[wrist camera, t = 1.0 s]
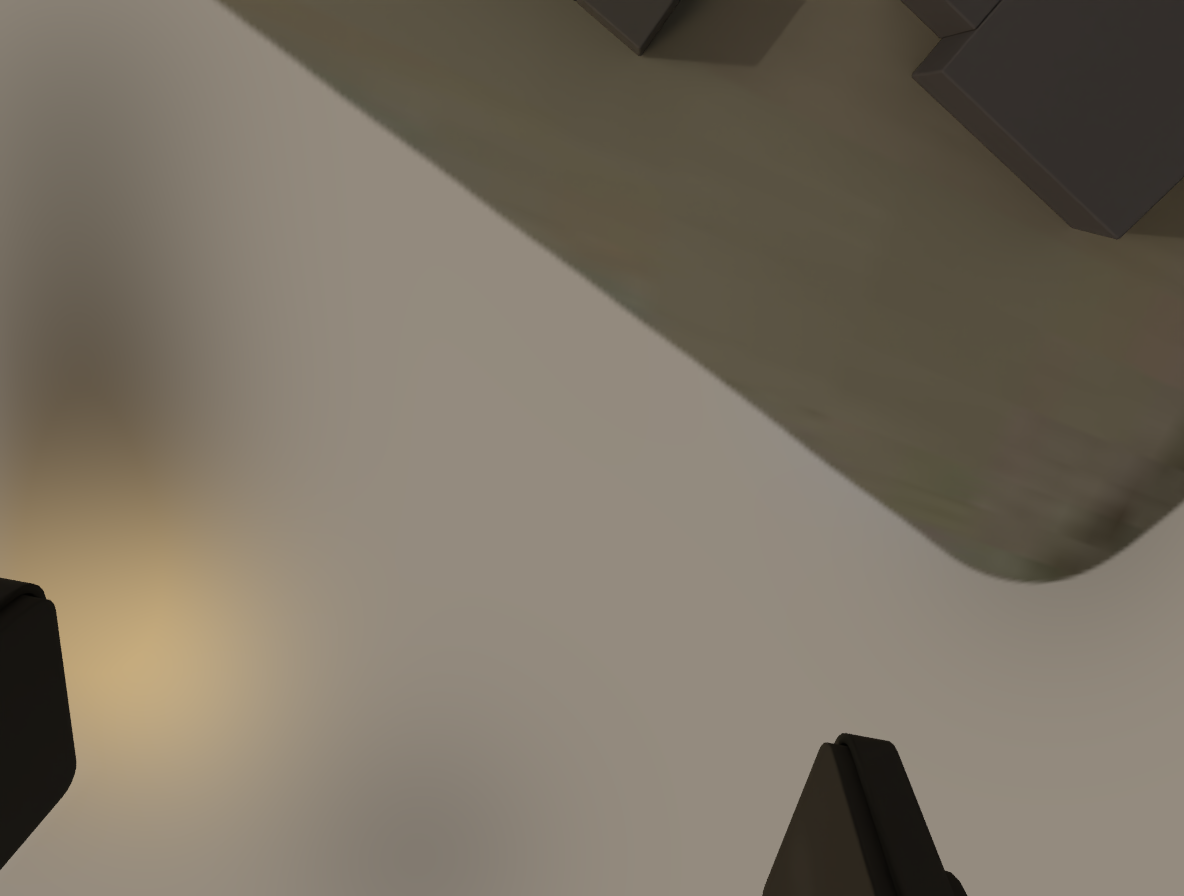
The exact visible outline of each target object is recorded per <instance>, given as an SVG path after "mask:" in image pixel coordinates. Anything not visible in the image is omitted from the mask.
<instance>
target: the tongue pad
mask: <svg viewBox="0 0 1184 896" xmlns="http://www.w3.org/2000/svg"><path fill="white" fill-rule="evenodd" d="M901 1H902V2H903V3H904V4H905V5H906V6H907V7H908V8H909V9H910V10H911V11H912V12H913V13H915V14H916V15H917V16H918V17H919V18H920V19H921V20H922V21H923V22H924V23H925V24H926V25H927V26H928V27H929V28H930V29H931V30H932V31H933V32H934V33H935V34H936V35H937V36H938V37H939V38H942V39H941V41H940V42H939V43H938V44H937V45H936V46H935V48H934V49H933V50H932V51H931V52H930V54H929V55H928V56H927V57H926V58H925V59H924V61H923V62H922V63H921V64H920V65H919V67H918V68H917V69H916V70H915V71H914V72H913V74H912V78H913V79H914V80H915V81H916V82H917V83H919V84H920V85H921V86H922V87H923V88H924V89H925V90H926V91H927V92H928V93H929V94H930V95H931V96H932V97H933V98H935V99H936V100H937V101H938V102H939V103H940V104H941V105H942V106H943V107H944V108H945V109H946V110H947V111H948V112H949V113H950V114H952V115H953V116H954V117H955V118H956V119H957V120H958V121H959V122H960V123H961V124H962V125H963V126H964V127H965V128H966V129H968V130H969V131H970V132H971V133H972V134H973V135H974V136H975V137H976V138H977V139H978V140H979V141H980V142H981V143H982V144H983V145H985V146H986V147H987V148H988V149H989V150H990V151H991V152H992V153H993V154H994V155H995V156H996V157H997V158H998V159H999V160H1001V161H1002V162H1003V163H1004V164H1005V165H1006V166H1007V167H1008V168H1009V169H1010V170H1011V171H1012V172H1013V173H1014V174H1015V175H1016V176H1018V177H1019V178H1020V179H1021V180H1022V181H1023V182H1024V183H1025V184H1026V185H1027V186H1028V187H1029V188H1030V189H1031V190H1032V191H1033V192H1035V193H1036V194H1037V195H1038V196H1039V197H1040V198H1041V199H1042V200H1043V201H1044V202H1045V203H1046V204H1047V205H1048V206H1049V207H1051V208H1052V209H1053V210H1054V211H1055V212H1056V213H1057V214H1058V215H1059V216H1060V217H1061V218H1062V219H1063V220H1064V221H1065V222H1066V223H1068V224H1069V225H1070V226H1071V227H1072V228H1075V229H1079V230H1083V231H1087V232H1090V233H1094V234H1098V235H1102V236H1106V237H1110V238H1114V239H1119V238H1121V237H1122V236H1123V235H1124V234H1125V233H1126V232H1127V231H1128V230H1129V229H1130V228H1131V227H1132V226H1133V225H1134V224H1135V223H1136V222H1137V221H1138V220H1139V219H1140V218H1141V217H1143V216H1144V215H1145V214H1146V213H1147V212H1148V211H1149V210H1150V209H1151V208H1152V207H1153V206H1154V205H1155V204H1156V203H1157V202H1158V201H1159V200H1160V199H1161V198H1162V197H1163V196H1164V195H1165V194H1166V193H1167V192H1169V191H1170V190H1171V189H1172V188H1173V187H1174V186H1175V185H1176V184H1177V183H1178V182H1179V181H1180V180H1181V179H1182V178H1183V177H1184V0H901Z"/></svg>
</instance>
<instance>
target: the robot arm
mask: <svg viewBox="0 0 1184 896" xmlns="http://www.w3.org/2000/svg"><path fill="white" fill-rule="evenodd" d="M75 770H76V756H75V748H74V741H73V733H72V727H71V719H70V712H69V704H68V697H67V689H66V682H65V674H64V667H63V659H62V652H61V646H60V637H59V631H58V623H57V616H56V609H55V606H54V604H53V603H52V601H50V600H47V599H46V597H45V594H44V591H43V590H42V589H41V588H40V586H38V585H35V584H31V583H26V582H20V581H15V580H10V579H4V578H0V870H1V869H2V867H3V866H4V865H5V864H6V863H7V861H8V860H9V859H10V858H11V857H12V856H13V854H14V853H15V852H16V851H17V850H18V848H19V847H20V846H21V845H22V844H23V843H24V841H25V840H26V839H27V838H28V837H29V836H30V834H31V833H32V832H33V831H34V830H35V829H36V827H37V826H38V825H39V824H40V823H41V821H42V820H43V819H44V818H45V817H46V816H47V814H48V813H49V812H50V811H51V810H52V808H53V807H54V806H55V805H56V804H57V803H58V801H59V800H60V799H61V798H62V797H63V795H64V794H65V793H66V791H67V790H68V788H69V786H70V784H71V782H72V779H73V777H74V774H75ZM762 896H967V894H966V892H965V890H964V888H963V887H962V885H961V883H960V881H959V880H958V879H957V878H956V877H955V876H954V875H953V874H952V873H951V872H948V871H945V870H944V868H943V865H942V863H941V860H940V858H939V855H938V853H937V850H936V847H935V845H934V842H933V840H932V837H931V835H930V832H929V830H928V827H927V825H926V822H925V820H924V817H923V815H922V812H921V810H920V807H919V805H918V802H917V800H916V797H915V795H914V792H913V789H912V787H911V784H910V782H909V779H908V777H907V774H906V772H905V769H904V767H903V764H902V762H901V759H900V757H899V754H898V752H897V750H896V748H895V746H894V745H893V744H892V743H891V742H890V741H885V740H880V739H874V738H869V737H863V736H858V735H852V734H847V733H842V734H841V735H839V736H838V738H837V739H836V741H835V743H834V744H831V743H824V744H823V745H822V746H821V747H820V749H819V752H818V754H817V757H816V759H815V762H814V764H813V767H812V769H811V772H810V774H809V777H808V779H807V782H806V784H805V787H804V789H803V792H802V794H801V797H800V799H799V802H798V804H797V807H796V809H795V812H794V814H793V817H792V819H791V822H790V824H789V827H788V829H787V832H786V834H785V837H784V839H783V842H782V844H781V847H780V849H779V852H778V854H777V857H776V859H775V862H774V864H773V867H772V869H771V872H770V874H769V877H768V879H767V882H766V884H765V887H764V890H763V895H762Z"/></svg>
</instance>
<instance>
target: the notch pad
mask: <svg viewBox="0 0 1184 896" xmlns="http://www.w3.org/2000/svg"><path fill="white" fill-rule="evenodd" d="M575 1H577V2H578V4H579V5H580V6H582V7H583V8H584V9H585V10H586V11H587V12H588V13H590V14H591V15H592V16H593V17H594V18H595V19H597V20H598V21H599V22H600V23H601V24H602V25H604V26H605V27H606V28H607V29H608V30H609V31H611V32H612V33H613V34H614V35H615V36H616V37H617V38H619V39H620V40H621V41H622V42H623V43H624V44H626V45H627V46H628V47H629V48H630V49H631V50H633V51H634V52H635V53H636V54H637V55H638V56H641V55H642V54H643V53H644V51H645V50H646V48H647V47H648V45H649V44H650V43H651V41H652V40H653V38H654V37H655V35H656V34H657V33H658V31H659V30H660V28H661V27H662V25H663V24H664V23H665V21H666V20H667V18H668V17H669V15H670V14H671V13H672V11H673V10H674V8H675V7H676V5H677V4H678V3H679V1H680V0H575Z"/></svg>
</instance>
